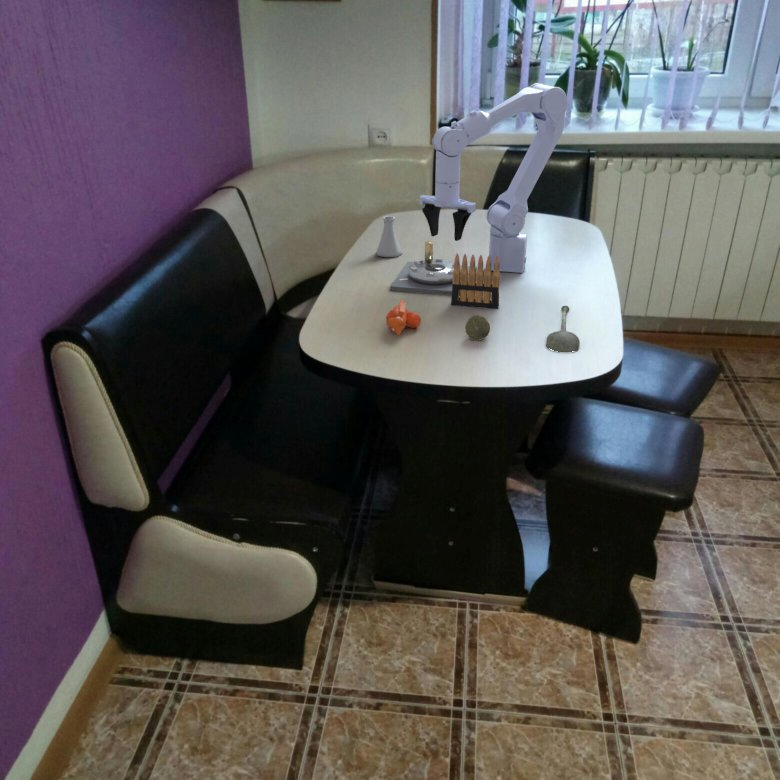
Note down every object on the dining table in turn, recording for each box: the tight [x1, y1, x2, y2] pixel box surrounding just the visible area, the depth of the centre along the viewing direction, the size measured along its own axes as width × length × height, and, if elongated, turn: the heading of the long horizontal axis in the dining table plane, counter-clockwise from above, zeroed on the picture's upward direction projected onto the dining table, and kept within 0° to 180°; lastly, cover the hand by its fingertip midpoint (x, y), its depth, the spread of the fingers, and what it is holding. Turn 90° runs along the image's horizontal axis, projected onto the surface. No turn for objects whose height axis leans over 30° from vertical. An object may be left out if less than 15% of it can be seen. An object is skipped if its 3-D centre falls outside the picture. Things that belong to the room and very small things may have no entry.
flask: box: [375, 215, 403, 258], centre depth 194 cm, size 7×7×10 cm
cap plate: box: [389, 261, 478, 296], centre depth 179 cm, size 18×18×1 cm
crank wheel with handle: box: [409, 240, 462, 285], centre depth 177 cm, size 13×13×7 cm
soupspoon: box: [545, 305, 581, 353], centre depth 152 cm, size 22×3×7 cm
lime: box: [464, 314, 491, 341], centre depth 148 cm, size 4×5×5 cm
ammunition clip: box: [450, 253, 501, 310], centre depth 161 cm, size 11×2×12 cm, turn 76°
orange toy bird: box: [385, 299, 422, 336], centre depth 154 cm, size 5×8×12 cm
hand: (446, 237), depth 178 cm, fingers open, 6 cm apart
